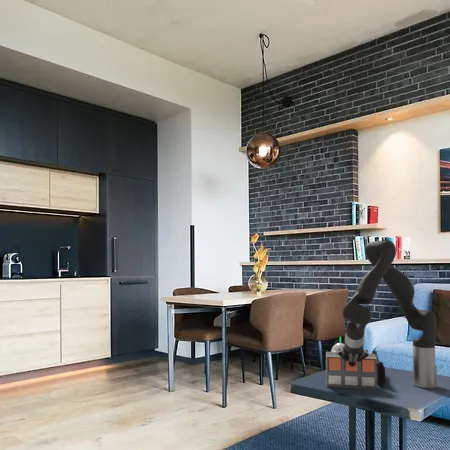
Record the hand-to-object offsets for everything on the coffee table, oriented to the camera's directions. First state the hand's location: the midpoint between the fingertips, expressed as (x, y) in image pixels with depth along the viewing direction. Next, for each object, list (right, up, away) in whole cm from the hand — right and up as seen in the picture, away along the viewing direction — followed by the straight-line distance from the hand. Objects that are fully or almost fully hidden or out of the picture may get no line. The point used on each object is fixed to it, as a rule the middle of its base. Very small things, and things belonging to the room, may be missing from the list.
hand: (351, 364), depth 210 cm
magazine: (+16, -12, +17) cm, 27 cm away
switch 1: (-7, -3, +4) cm, 8 cm away
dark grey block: (0, -11, +4) cm, 11 cm away
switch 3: (+7, -3, +2) cm, 8 cm away
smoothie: (-2, -11, +13) cm, 17 cm away
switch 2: (0, -3, +3) cm, 4 cm away
